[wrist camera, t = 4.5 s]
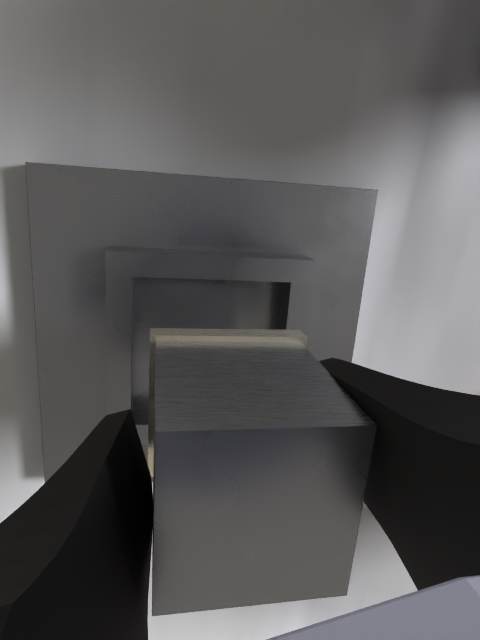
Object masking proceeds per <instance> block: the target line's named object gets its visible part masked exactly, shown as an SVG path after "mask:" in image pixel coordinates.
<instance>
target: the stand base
mask: <svg viewBox="0 0 480 640" xmlns="http://www.w3.org/2000/svg"><path fill="white" fill-rule="evenodd" d="M25 163H26V179H27V195H28V212H29V228H30V245H31V261H32V277H33V294H34V310H35V327H36V343H37V359H38V376H39V392H40V409H41V425H42V441H43V458H44V474H45V483H46V482H47V481H48V479H49V478H50V477H51V476H52V475H53V474H54V473H55V472H56V471H57V470H58V469H59V468H60V467H61V466H62V465H63V464H64V463H65V462H66V461H67V460H68V458H69V457H70V456H71V455H72V454H73V453H74V451H75V450H76V449H77V448H78V447H79V446H80V445H81V443H82V442H83V441H84V440H85V439H86V438H87V436H88V435H89V434H90V433H91V432H92V430H93V429H94V428H95V427H96V426H97V424H98V423H99V422H100V421H101V420H102V419H103V418H104V417H105V416H106V415H109V414H113V413H117V412H121V411H124V410H128V409H131V412H132V415H133V418H134V421H135V425H136V428H137V431H138V435H139V438H140V441H141V444H142V448H143V451H144V454H145V458H146V461H147V464H148V419H149V353H150V328H189V329H264V330H301V331H302V332H303V333H304V334H305V335H306V336H307V345H306V348H307V349H308V350H309V351H310V352H311V353H312V355H313V356H314V357H315V358H316V359H317V360H318V361H321V360H325V359H329V358H337V359H341V360H344V361H347V362H350V363H351V362H352V356H353V349H354V343H355V336H356V330H357V323H358V317H359V310H360V304H361V297H362V290H363V284H364V277H365V271H366V264H367V258H368V251H369V245H370V238H371V231H372V225H373V218H374V212H375V205H376V199H377V192H378V190H373V189H360V188H347V187H335V186H322V185H309V184H296V183H284V182H271V181H258V180H246V179H233V178H220V177H207V176H195V175H182V174H169V173H156V172H144V171H131V170H118V169H106V168H93V167H80V166H67V165H55V164H42V163H29V162H25ZM151 480H152V482H153V477H151Z"/></svg>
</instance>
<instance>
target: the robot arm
mask: <svg viewBox="0 0 480 640" xmlns="http://www.w3.org/2000/svg"><path fill="white" fill-rule="evenodd" d="M319 362H320V363H321V364H322V366H323V367H324V368H325V369H326V370H327V371H328V372H329V373H330V374H331V376H332V377H333V378H334V379H335V380H336V381H337V382H338V383H339V384H340V385H341V387H342V388H343V389H344V390H345V391H346V392H347V393H348V394H349V395H350V396H351V398H352V399H353V400H354V401H355V402H356V403H357V404H358V405H359V406H360V407H361V409H362V410H363V411H364V412H365V413H366V414H367V415H368V416H369V417H370V419H371V420H372V421H373V422H374V423H375V424H376V425H377V427H376V432H375V438H374V444H373V449H372V455H371V461H370V466H369V472H368V477H367V483H366V489H365V494H364V500H363V501H364V503H365V504H366V505H367V507H368V508H369V510H370V511H371V513H372V514H373V515H374V517H375V518H376V520H377V521H378V523H379V524H380V525H381V527H382V528H383V530H384V531H385V533H386V535H387V536H388V538H389V539H390V541H391V542H392V544H393V546H394V548H395V549H396V551H397V553H398V555H399V557H400V558H401V560H402V562H403V564H404V566H405V567H406V569H407V571H408V573H409V575H410V576H411V578H412V580H413V582H414V584H415V586H416V587H417V589H418V591H416V592H413V593H410V594H406V595H403V596H400V597H397V598H394V599H391V600H388V601H385V602H382V603H379V604H375V605H372V606H369V607H366V608H363V609H360V610H357V611H354V612H351V613H348V614H344V615H341V616H338V617H335V618H332V619H329V620H326V621H323V622H320V623H317V624H313V625H310V626H307V627H304V628H301V629H298V630H295V631H292V632H289V633H286V634H282V635H279V636H276V637H273V638H270V639H267V640H480V396H478V395H471V394H465V393H460V392H454V391H449V390H443V389H439V388H434V387H430V386H426V385H422V384H418V383H414V382H410V381H407V380H403V379H400V378H396V377H393V376H390V375H387V374H383V373H380V372H377V371H374V370H371V369H368V368H365V367H362V366H359V365H356V364H353V363H350V362H347V361H344V360H341V359H337V358H329V359H325V360H321V361H319ZM152 531H153V493H152V480H151V474H150V471H149V467H148V464H147V461H146V458H145V454H144V451H143V448H142V444H141V441H140V438H139V435H138V431H137V428H136V425H135V421H134V418H133V415H132V412H131V409H128V410H124V411H121V412H117V413H113V414H109V415H106V416H105V417H104V418H103V419H102V420H101V421H100V422H99V423H98V424H97V426H96V427H95V428H94V429H93V430H92V432H91V433H90V434H89V435H88V436H87V438H86V439H85V440H84V441H83V442H82V443H81V445H80V446H79V447H78V448H77V449H76V450H75V451H74V453H73V454H72V455H71V456H70V457H69V458H68V460H67V461H66V462H65V463H64V464H63V465H62V466H61V467H60V468H59V469H58V470H57V471H56V472H55V473H54V474H53V475H52V476H51V477H50V478H49V479H48V481H47V482H46V483H45V484H44V485H43V486H42V487H41V488H40V489H39V490H38V491H37V492H36V493H35V494H33V495H32V496H31V497H30V498H29V499H28V500H27V501H26V502H25V503H24V504H23V505H21V506H20V507H19V508H18V509H17V510H16V511H14V512H13V513H12V514H11V515H10V516H9V517H8V518H6V519H5V520H4V521H3V522H1V523H0V640H148V623H147V615H148V590H149V575H150V561H151V546H152Z"/></svg>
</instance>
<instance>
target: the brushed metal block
mask: <svg viewBox="0 0 480 640" xmlns="http://www.w3.org/2000/svg"><path fill="white" fill-rule="evenodd" d="M306 345H307V336H306V335H305V334H304V333H303V332H302V331H301V330H264V329H189V328H150V353H149V419H148V467H149V471H150V474H151V477H153V560H152V616H158V615H167V614H177V613H186V612H195V611H205V610H214V609H223V608H233V607H242V606H251V605H261V604H270V603H279V602H289V601H298V600H307V599H317V598H326V597H335V596H345V595H347V590H348V584H349V579H350V573H351V568H352V562H353V556H354V551H355V545H356V539H357V534H358V528H359V523H360V517H361V511H362V506H363V500H364V494H365V489H366V483H367V477H368V472H369V466H370V461H371V455H372V449H373V444H374V438H375V432H376V427H377V425H376V424H375V423H374V422H373V421H372V420H371V419H370V417H369V416H368V415H367V414H366V413H365V412H364V411H363V410H362V409H361V407H360V406H359V405H358V404H357V403H356V402H355V401H354V400H353V399H352V398H351V396H350V395H349V394H348V393H347V392H346V391H345V390H344V389H343V388H342V387H341V385H340V384H339V383H338V382H337V381H336V380H335V379H334V378H333V377H332V376H331V374H330V373H329V372H328V371H327V370H326V369H325V368H324V367H323V366H322V364H321V363H320V362H319V361H318V360H317V359H316V358H315V357H314V356H313V355H312V353H311V352H310V351H309V350H308V349H307V348H306Z"/></svg>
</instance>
